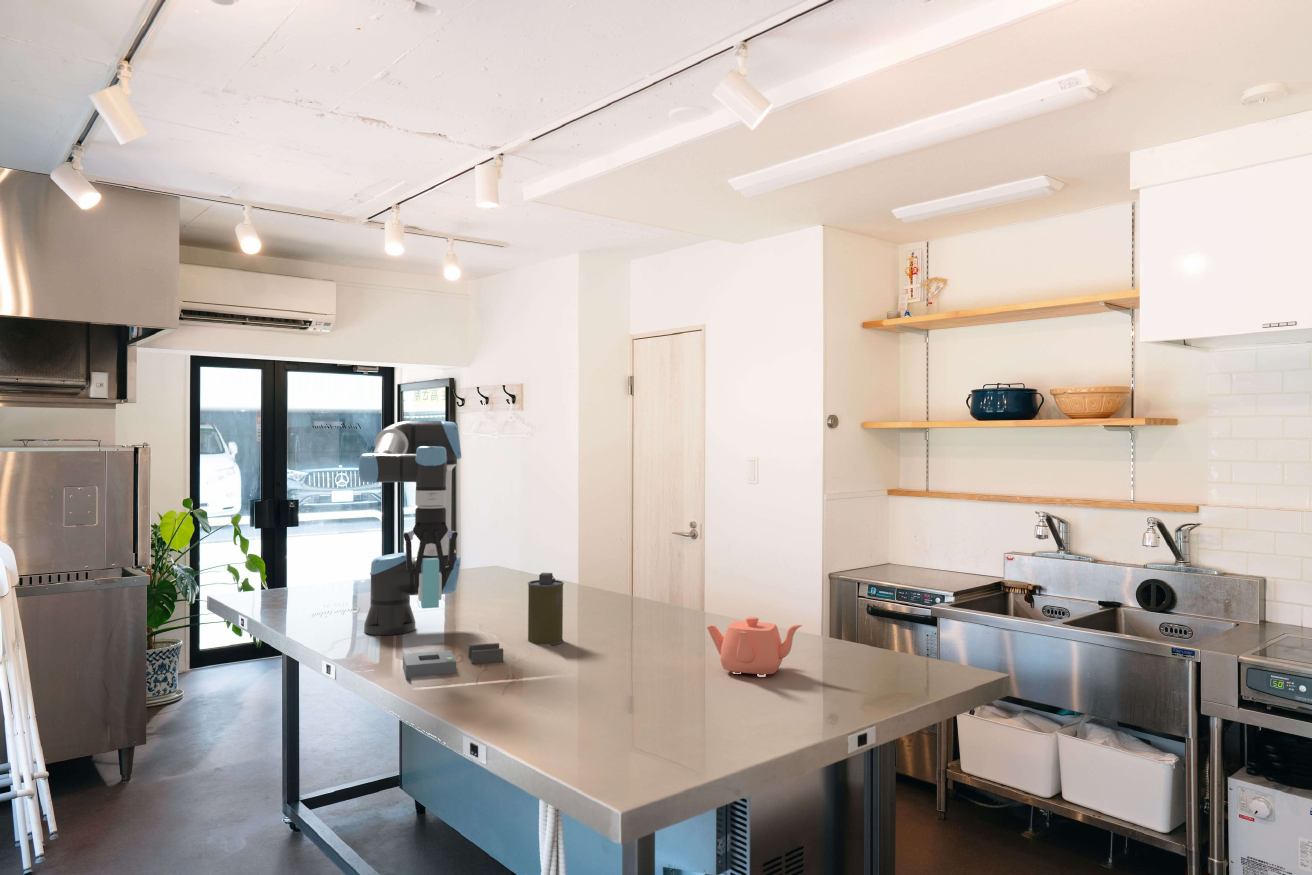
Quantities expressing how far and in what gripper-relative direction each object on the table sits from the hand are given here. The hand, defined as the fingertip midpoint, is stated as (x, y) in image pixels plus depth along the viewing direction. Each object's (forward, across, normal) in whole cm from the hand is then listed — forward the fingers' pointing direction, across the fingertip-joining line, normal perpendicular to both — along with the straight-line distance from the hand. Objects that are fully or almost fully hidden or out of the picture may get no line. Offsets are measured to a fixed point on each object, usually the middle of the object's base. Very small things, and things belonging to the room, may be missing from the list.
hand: (429, 599), depth 212 cm
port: (+18, 0, 0) cm, 18 cm away
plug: (+2, 0, 0) cm, 2 cm away
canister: (+18, +35, +22) cm, 45 cm away
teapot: (+19, +78, -27) cm, 85 cm away
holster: (+18, +15, +5) cm, 24 cm away
